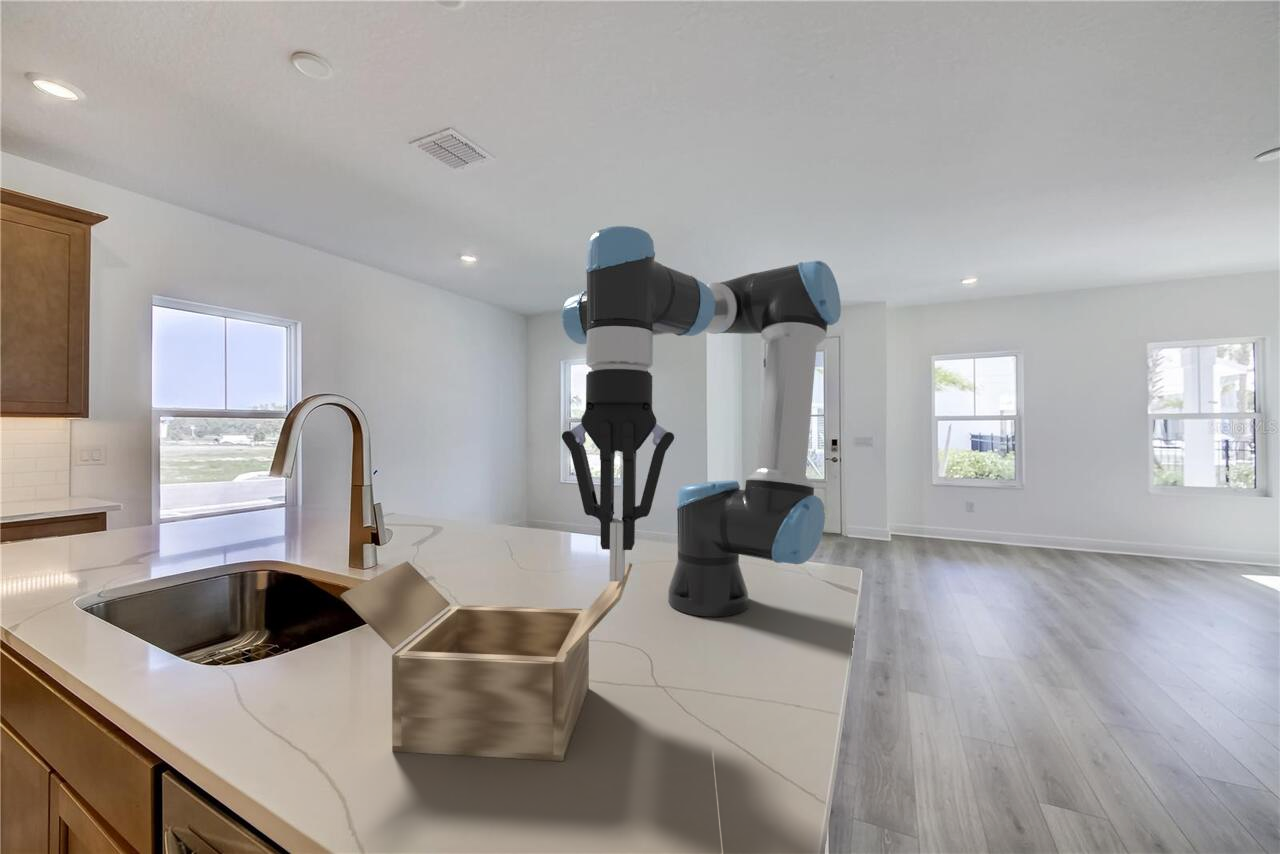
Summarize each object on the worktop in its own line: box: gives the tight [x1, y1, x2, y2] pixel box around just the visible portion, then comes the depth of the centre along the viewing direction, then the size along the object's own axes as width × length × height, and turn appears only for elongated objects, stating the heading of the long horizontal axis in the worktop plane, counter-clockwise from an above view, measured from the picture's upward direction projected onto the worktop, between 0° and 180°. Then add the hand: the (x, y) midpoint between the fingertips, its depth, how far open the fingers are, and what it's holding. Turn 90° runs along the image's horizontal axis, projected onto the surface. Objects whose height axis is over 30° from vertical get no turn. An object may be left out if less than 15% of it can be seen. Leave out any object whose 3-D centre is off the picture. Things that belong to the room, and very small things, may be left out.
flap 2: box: [565, 562, 633, 656], centre depth 57 cm, size 8×13×1 cm
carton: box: [391, 604, 590, 762], centre depth 58 cm, size 18×15×10 cm
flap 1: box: [340, 560, 451, 650], centre depth 59 cm, size 8×13×1 cm
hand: (617, 577), depth 57 cm, fingers closed
